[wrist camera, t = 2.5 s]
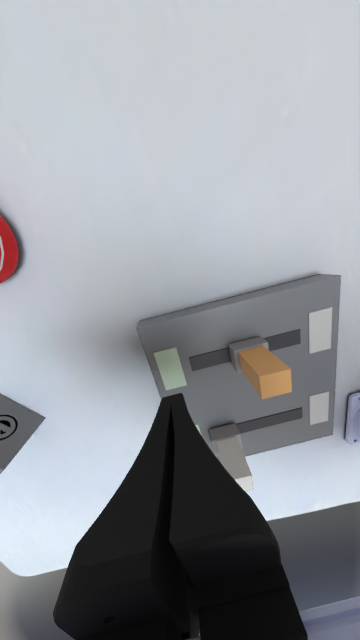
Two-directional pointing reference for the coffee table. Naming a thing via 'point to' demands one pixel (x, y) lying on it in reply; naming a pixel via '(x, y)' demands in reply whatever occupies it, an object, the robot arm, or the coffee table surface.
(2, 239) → the beer can
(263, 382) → the orange lever
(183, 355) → the slider lever panel
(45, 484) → the coffee table surface
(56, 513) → the coffee table surface
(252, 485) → the white lever
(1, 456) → the dice cube
